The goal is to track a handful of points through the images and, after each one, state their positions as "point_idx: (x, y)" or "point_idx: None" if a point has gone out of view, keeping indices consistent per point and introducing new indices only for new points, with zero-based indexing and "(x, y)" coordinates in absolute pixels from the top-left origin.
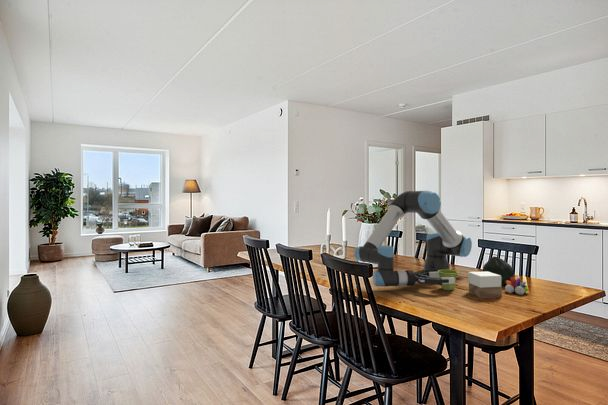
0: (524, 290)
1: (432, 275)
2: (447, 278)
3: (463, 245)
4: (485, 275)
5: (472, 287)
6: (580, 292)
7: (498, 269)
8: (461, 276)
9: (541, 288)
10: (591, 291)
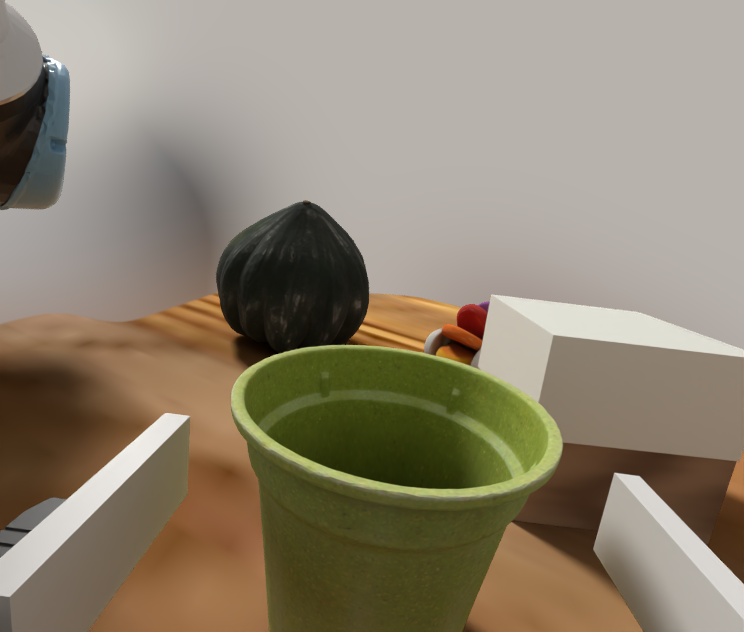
0: None
1: (75, 603)
2: (725, 579)
3: (61, 114)
4: (689, 336)
5: (585, 472)
6: (452, 311)
7: (356, 271)
8: (37, 348)
9: (400, 322)
10: (439, 302)
